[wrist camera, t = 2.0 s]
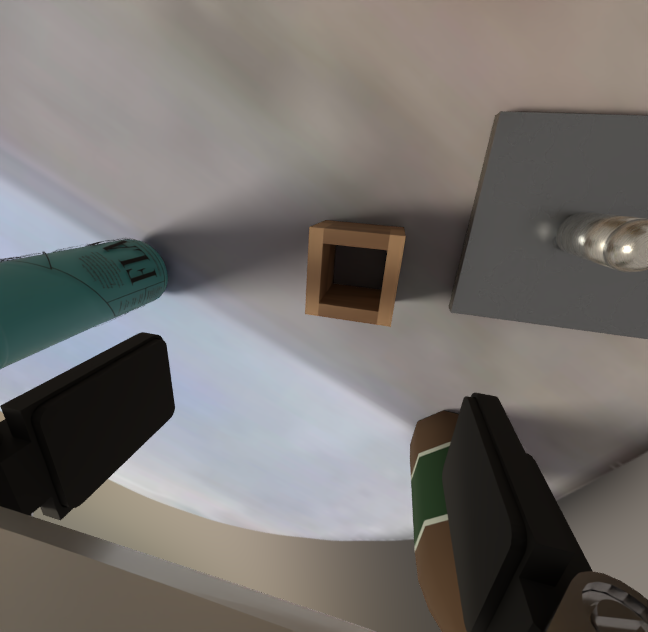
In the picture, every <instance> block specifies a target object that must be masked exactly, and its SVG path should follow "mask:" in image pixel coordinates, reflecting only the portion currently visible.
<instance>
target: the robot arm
mask: <svg viewBox="0 0 648 632" xmlns="http://www.w3.org/2000/svg"><path fill="white" fill-rule="evenodd" d="M0 407H1V409H2V412H3V414H4V417H5V420H3V421H1V422H0V632H376V631H373V630H370V629H367V628H364V627H362V626H359V625H356V624H353V623H351V622H348V621H345V620H342V619H339V618H336V617H333V616H330V615H327V614H324V613H321V612H318V611H315V610H312V609H309V608H306V607H303V606H300V605H298V604H295V603H292V602H289V601H286V600H283V599H280V598H276V597H274V596H271V595H268V594H265V593H262V592H259V591H256V590H253V589H250V588H247V587H244V586H241V585H238V584H235V583H232V582H229V581H226V580H223V579H220V578H217V577H214V576H211V575H208V574H205V573H202V572H199V571H196V570H193V569H190V568H187V567H184V566H181V565H178V564H175V563H172V562H169V561H166V560H163V559H160V558H157V557H154V556H151V555H148V554H145V553H142V552H139V551H136V550H133V549H130V548H127V547H124V546H121V545H118V544H115V543H112V542H109V541H106V540H102V539H100V538H97V537H94V536H91V535H87V534H84V533H81V532H78V531H75V530H72V529H69V528H66V527H63V526H60V525H56V524H53V523H50V522H47V521H44V520H41V519H38V518H35V517H33V512H34V511H35V510H37V508H39V507H41V510H42V512H43V515H46V516H49V517H52V518H55V519H58V520H61V519H62V518H63V517H65V516H66V515H67V514H68V513H69V512H70V511H71V510H72V509H73V508H76V507H78V506H80V505H81V504H82V503H83V502H84V501H85V500H86V499H87V498H88V497H89V496H91V495H92V494H93V493H94V492H95V491H96V490H97V489H98V488H99V487H100V486H101V485H102V484H103V483H104V482H105V481H106V480H107V479H108V478H109V477H110V476H111V475H112V474H113V473H114V472H115V471H116V470H117V469H118V468H119V467H120V466H122V465H123V464H124V463H125V462H126V461H127V460H128V459H129V458H130V457H131V456H132V455H133V454H134V453H135V452H136V451H137V450H138V449H139V448H140V447H141V446H142V445H143V444H144V443H145V442H146V441H147V440H148V439H149V438H150V437H152V436H153V435H154V434H155V433H156V432H157V431H158V430H159V429H160V428H161V427H162V426H163V425H164V424H165V423H166V422H167V421H168V420H169V419H170V418H171V417H172V415H173V413H174V410H175V404H174V396H173V389H172V382H171V374H170V367H169V360H168V352H167V345H166V343H165V341H163V339H162V337H161V336H159V335H155V334H150V333H143V332H141V333H139V334H137V335H135V336H133V337H131V338H129V339H127V340H125V341H123V342H121V343H119V344H117V345H116V346H114V347H112V348H110V349H108V350H106V351H104V352H102V353H100V354H98V355H96V356H95V357H93V358H91V359H89V360H87V361H85V362H83V363H81V364H79V365H77V366H75V367H73V368H72V369H70V370H68V371H66V372H64V373H62V374H60V375H58V376H56V377H54V378H52V379H51V380H49V381H47V382H45V383H43V384H41V385H39V386H37V387H35V388H33V389H31V390H29V391H28V392H26V393H24V394H22V395H20V396H18V397H16V398H14V399H12V400H10V401H8V402H7V403H5V404H3V405H1V406H0ZM442 482H443V489H444V495H445V502H446V508H447V515H448V521H449V528H450V534H451V541H452V547H453V554H454V560H455V567H456V573H457V580H458V586H459V593H460V599H461V606H462V612H463V619H464V624H465V628H466V631H467V632H648V600H647V599H646V598H645V597H644V596H643V595H641V594H640V593H639V592H637V591H636V590H634V589H633V588H631V587H630V586H628V585H626V584H625V583H623V582H622V581H620V580H618V579H615V578H613V577H611V576H608V575H606V574H603V573H598V572H593V571H592V569H591V567H590V565H589V563H588V562H587V560H586V558H585V556H584V554H583V552H582V550H581V548H580V546H579V544H578V542H577V541H576V538H575V537H574V535H573V533H572V531H571V529H570V527H569V525H568V523H567V521H566V519H565V517H564V515H563V513H562V511H561V510H560V508H559V506H558V504H557V502H556V500H555V498H554V496H553V494H552V492H551V490H550V488H549V486H548V484H547V483H546V481H545V479H544V477H543V475H542V473H541V471H540V469H539V467H538V465H537V463H536V461H535V460H534V459H533V457H532V456H531V455H529V454H527V453H525V451H524V449H523V447H522V445H521V443H520V441H519V439H518V437H517V435H516V433H515V431H514V429H513V427H512V425H511V423H510V421H509V419H508V417H507V415H506V413H505V411H504V409H503V407H502V405H501V402H500V400H499V399H498V397H496V396H491V395H485V394H480V393H473V394H472V395H471V397H467V396H466V397H464V399H463V402H462V406H461V409H460V412H459V416H458V419H457V423H456V426H455V429H454V433H453V436H452V440H451V443H450V446H449V450H448V453H447V457H446V460H445V463H444V467H443V472H442Z"/></svg>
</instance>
